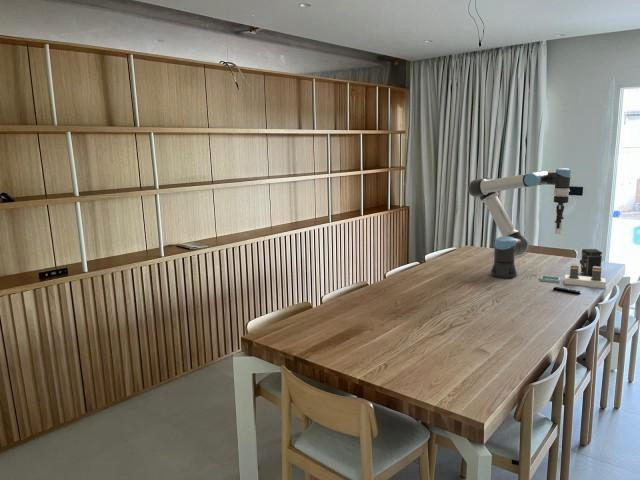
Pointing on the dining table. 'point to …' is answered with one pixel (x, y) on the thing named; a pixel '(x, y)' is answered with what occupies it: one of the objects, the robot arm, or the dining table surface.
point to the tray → (550, 279)
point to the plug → (574, 271)
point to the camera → (590, 260)
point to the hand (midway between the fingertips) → (558, 232)
